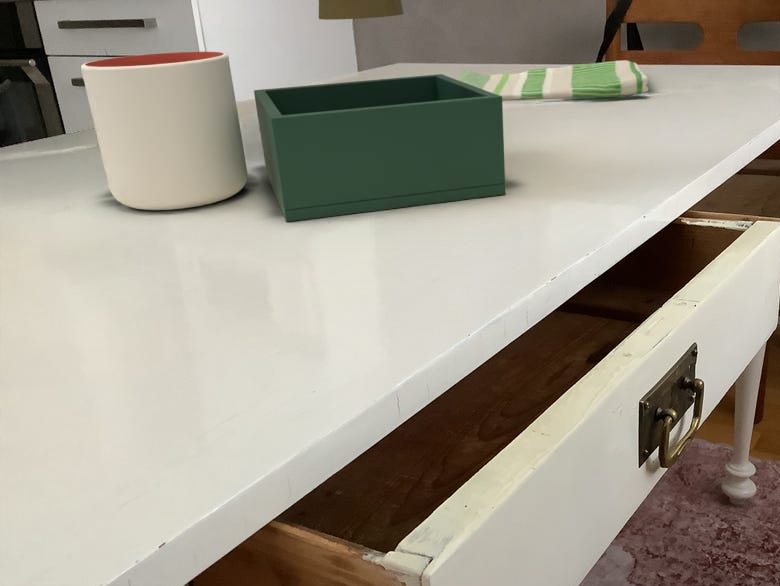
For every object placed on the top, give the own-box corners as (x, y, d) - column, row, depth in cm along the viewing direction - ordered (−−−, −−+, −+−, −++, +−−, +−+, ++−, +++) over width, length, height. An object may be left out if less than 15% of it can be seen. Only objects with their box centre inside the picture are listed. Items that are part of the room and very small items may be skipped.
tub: (266, 175, 70) (253, 90, 67) (447, 155, 74) (442, 73, 71) (286, 222, 57) (270, 118, 54) (505, 194, 61) (502, 96, 58)
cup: (276, 191, 65) (255, 53, 60) (156, 222, 58) (123, 69, 54) (205, 176, 71) (181, 49, 67) (89, 202, 64) (55, 64, 60)
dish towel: (463, 86, 115) (461, 65, 114) (636, 80, 113) (637, 58, 112) (448, 107, 99) (446, 82, 98) (650, 100, 97) (651, 75, 96)
